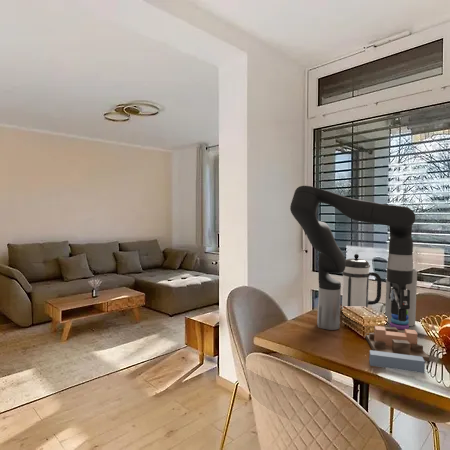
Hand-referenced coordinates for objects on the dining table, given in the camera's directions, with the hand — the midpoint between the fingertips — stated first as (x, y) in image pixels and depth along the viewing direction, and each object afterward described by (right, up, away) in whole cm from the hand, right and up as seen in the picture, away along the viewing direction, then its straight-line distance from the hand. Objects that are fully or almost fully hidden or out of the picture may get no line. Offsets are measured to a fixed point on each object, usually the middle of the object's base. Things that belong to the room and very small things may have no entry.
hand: (398, 317), depth 117 cm
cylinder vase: (+24, -15, +48) cm, 55 cm away
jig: (+7, -16, +16) cm, 24 cm away
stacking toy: (+17, -16, +35) cm, 42 cm away
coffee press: (+9, -14, +62) cm, 64 cm away
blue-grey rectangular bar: (0, -17, +1) cm, 17 cm away
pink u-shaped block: (+7, -14, +16) cm, 23 cm away
